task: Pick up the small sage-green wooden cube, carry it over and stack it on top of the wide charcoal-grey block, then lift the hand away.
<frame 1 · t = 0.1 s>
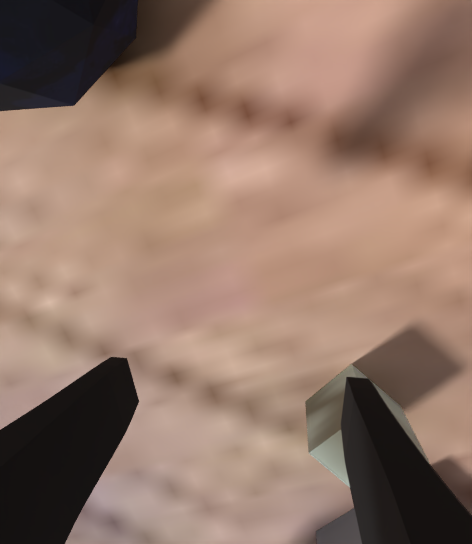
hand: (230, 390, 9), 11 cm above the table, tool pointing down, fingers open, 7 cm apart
green cube: (351, 402, 20), on the table
grey base block: (406, 537, 23), on the table
decorative orb: (76, 8, 17), on the table
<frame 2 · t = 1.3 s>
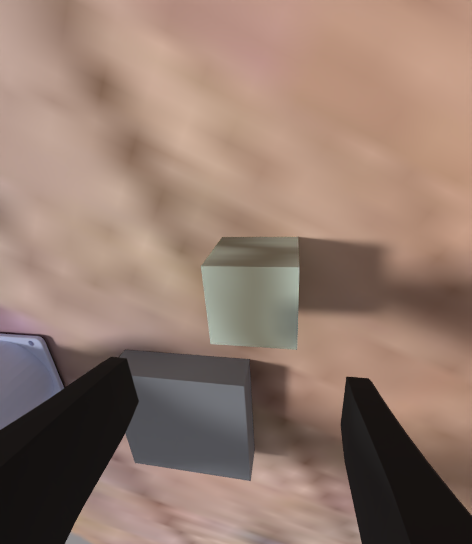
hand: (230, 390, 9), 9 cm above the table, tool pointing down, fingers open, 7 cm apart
green cube: (260, 271, 18), on the table
grey base block: (194, 397, 24), on the table
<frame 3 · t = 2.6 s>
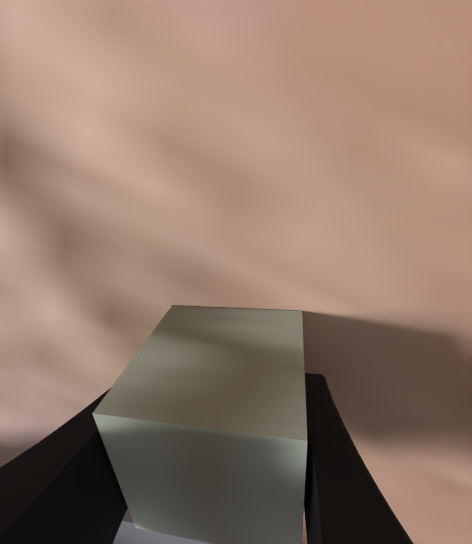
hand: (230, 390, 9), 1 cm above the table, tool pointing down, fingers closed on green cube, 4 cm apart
green cube: (238, 360, 11), on the table, touching gripper
grey base block: (153, 504, 17), on the table
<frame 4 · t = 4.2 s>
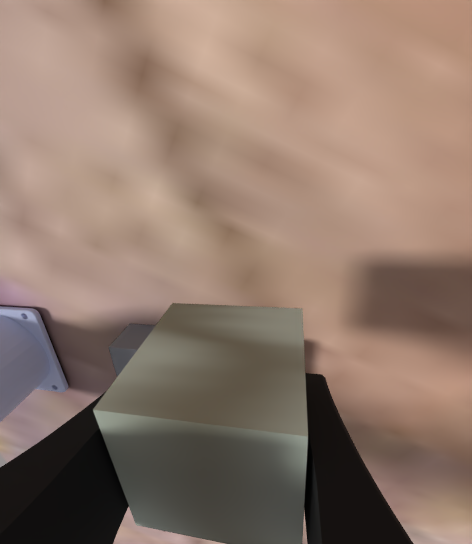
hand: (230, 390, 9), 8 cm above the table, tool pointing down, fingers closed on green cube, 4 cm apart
green cube: (238, 357, 11), point 7 cm above the table, touching gripper
grey base block: (206, 379, 22), on the table
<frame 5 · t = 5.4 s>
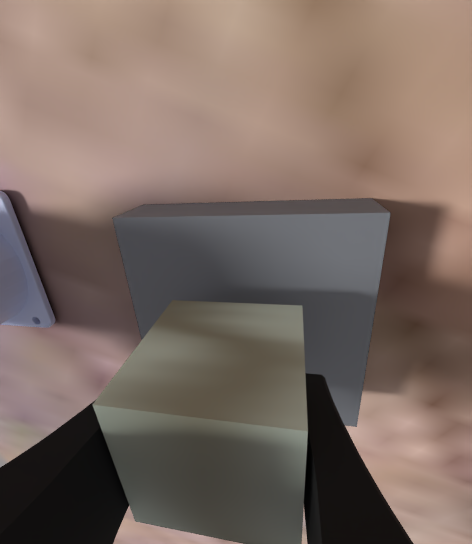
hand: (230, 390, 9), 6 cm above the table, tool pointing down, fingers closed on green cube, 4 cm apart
green cube: (238, 355, 11), point 4 cm above the table, touching gripper
grey base block: (254, 297, 15), on the table
when the fingers open (5 cm above the table, at t = 5.9 s): green cube drops 1 cm, resting on grey base block.
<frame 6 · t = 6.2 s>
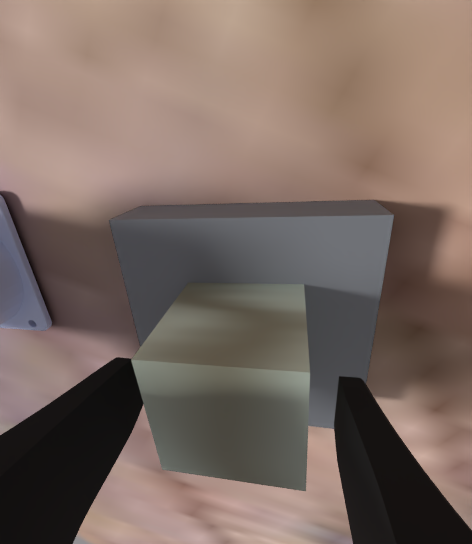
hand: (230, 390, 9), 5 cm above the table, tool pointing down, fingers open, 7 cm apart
green cube: (247, 331, 12), point 2 cm above the table, touching grey base block
grey base block: (253, 299, 15), on the table, touching green cube
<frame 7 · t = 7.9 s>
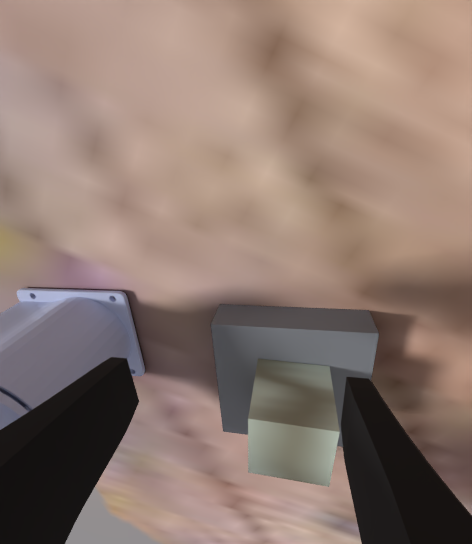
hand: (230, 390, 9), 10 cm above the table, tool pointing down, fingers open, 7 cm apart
green cube: (290, 388, 19), point 2 cm above the table
grey base block: (289, 359, 22), on the table
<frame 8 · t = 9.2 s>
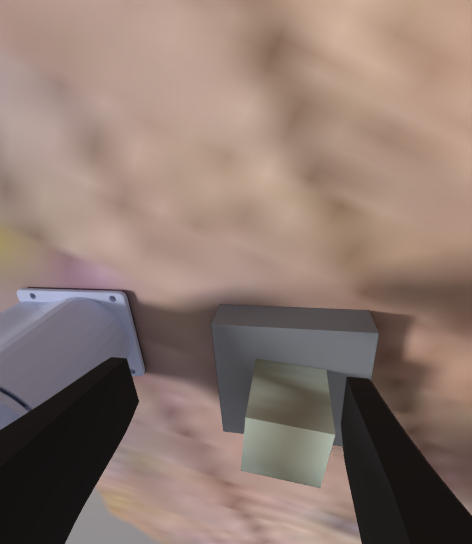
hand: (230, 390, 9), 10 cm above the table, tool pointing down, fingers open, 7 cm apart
green cube: (286, 389, 19), point 2 cm above the table, touching grey base block
grey base block: (289, 359, 22), on the table, touching green cube
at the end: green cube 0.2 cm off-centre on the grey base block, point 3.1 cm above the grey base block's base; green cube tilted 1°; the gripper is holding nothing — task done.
